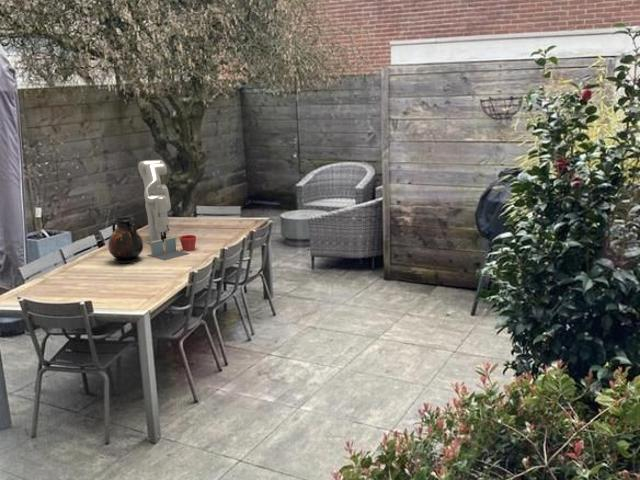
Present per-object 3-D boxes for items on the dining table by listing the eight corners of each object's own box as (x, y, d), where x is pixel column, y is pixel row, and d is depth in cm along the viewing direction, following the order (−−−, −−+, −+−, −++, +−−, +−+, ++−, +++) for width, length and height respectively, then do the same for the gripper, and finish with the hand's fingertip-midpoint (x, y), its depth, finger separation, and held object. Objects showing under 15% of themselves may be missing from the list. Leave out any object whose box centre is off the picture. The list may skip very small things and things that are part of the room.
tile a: (164, 252, 405) (163, 239, 403) (174, 250, 411) (173, 236, 409) (166, 253, 404) (165, 239, 401) (176, 250, 410) (175, 237, 407)
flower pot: (193, 252, 407) (192, 238, 405) (178, 252, 409) (177, 238, 407) (199, 248, 417) (198, 235, 415) (184, 248, 419) (183, 234, 417)
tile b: (151, 255, 397) (150, 242, 395) (161, 253, 403) (160, 239, 401) (153, 256, 396) (152, 242, 394) (163, 253, 402) (162, 240, 400)
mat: (146, 256, 399) (146, 255, 398) (172, 249, 414) (172, 249, 414) (164, 261, 386) (164, 260, 386) (190, 254, 402) (190, 253, 402)
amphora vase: (151, 258, 393) (148, 216, 386) (128, 267, 374) (124, 223, 367) (126, 255, 402) (122, 214, 395) (102, 263, 383) (98, 220, 376)
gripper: (150, 214, 407) (152, 240, 411) (163, 216, 398) (165, 243, 402) (159, 213, 413) (161, 238, 417) (173, 215, 404) (175, 241, 408)
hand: (163, 241), depth 410 cm, fingers closed
